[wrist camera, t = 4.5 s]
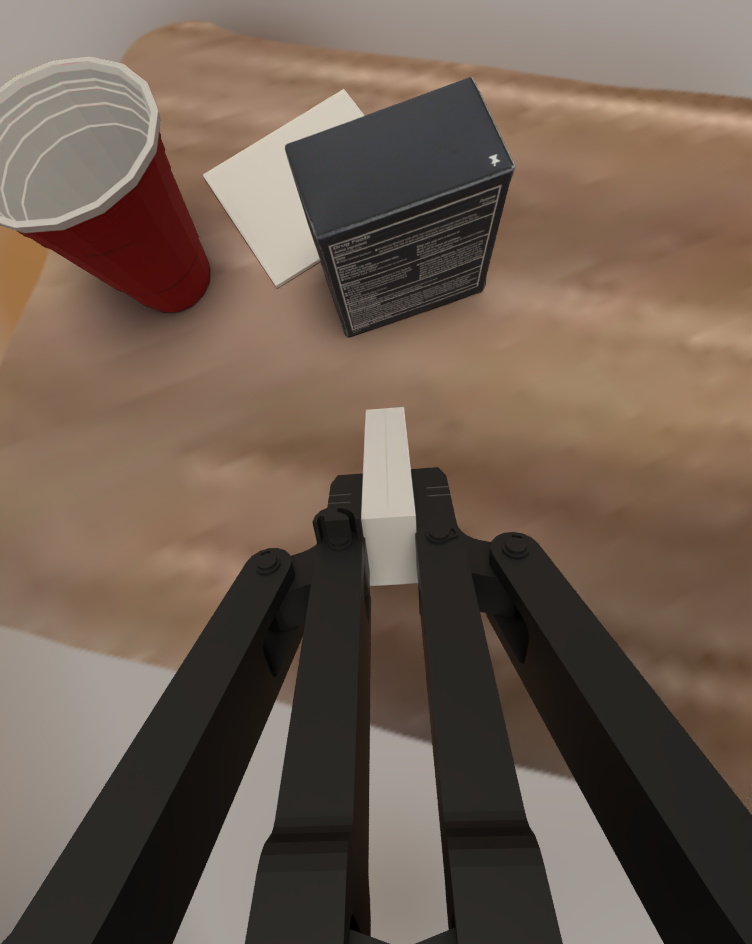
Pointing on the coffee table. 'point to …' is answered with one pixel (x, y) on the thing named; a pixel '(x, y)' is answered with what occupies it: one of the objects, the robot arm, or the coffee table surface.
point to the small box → (404, 204)
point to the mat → (276, 191)
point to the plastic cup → (98, 180)
